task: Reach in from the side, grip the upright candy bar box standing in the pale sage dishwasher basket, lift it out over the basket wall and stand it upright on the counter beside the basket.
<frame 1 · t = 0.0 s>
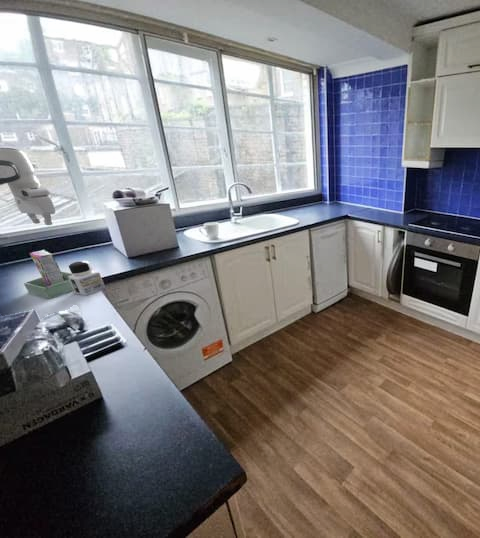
hand: (43, 224, 125), 28 cm above the table, tool pointing down, fingers open, 8 cm apart
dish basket: (58, 289, 129), on the table
candy bar box: (58, 288, 129), resting on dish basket
container: (90, 290, 127), on the table
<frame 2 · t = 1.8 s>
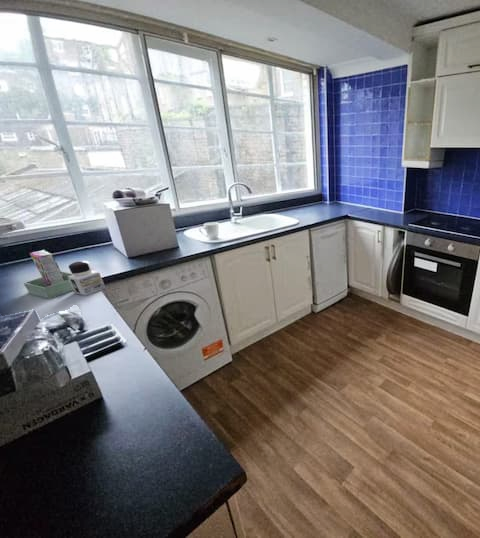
hand: (0, 231, 129), 24 cm above the table, tool horizontal, fingers open, 8 cm apart
nothing on the table moved.
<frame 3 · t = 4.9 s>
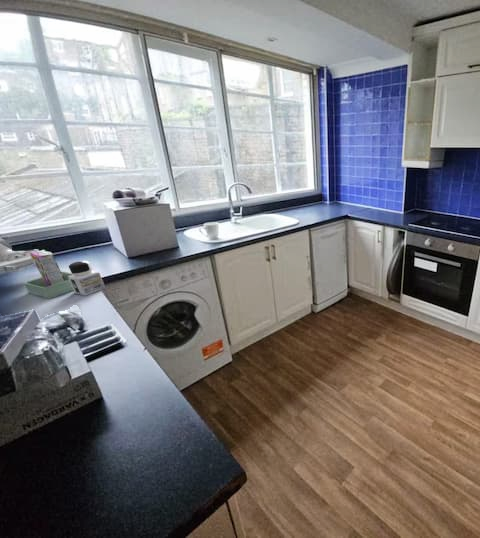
hand: (31, 264, 130), 10 cm above the table, tool horizontal, fingers open, 8 cm apart
nothing on the table moved.
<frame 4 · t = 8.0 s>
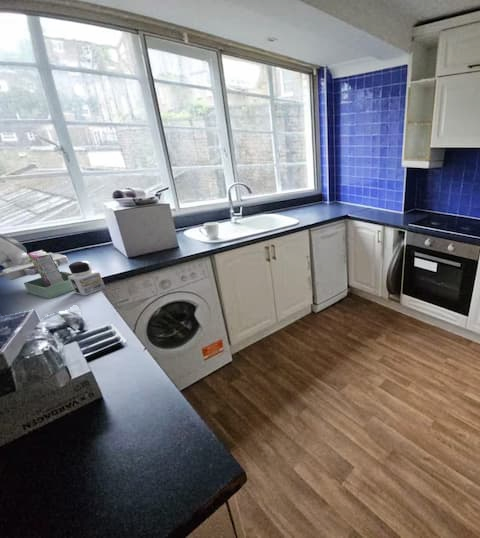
hand: (46, 268, 126), 9 cm above the table, tool horizontal, fingers closed on candy bar box, 5 cm apart
candy bar box: (58, 288, 129), resting on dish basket, touching gripper
everything else where it was.
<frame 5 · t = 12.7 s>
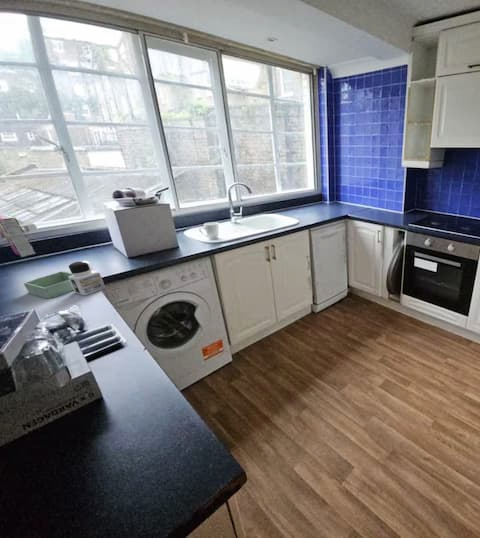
hand: (13, 233, 125), 24 cm above the table, tool horizontal, fingers closed on candy bar box, 5 cm apart
candy bar box: (25, 254, 128), point 15 cm above the table, touching gripper
everything else where it was.
when the fingers open (9 cm above the table, at t = 17.7 s): candy bar box stays where it is, on the table.
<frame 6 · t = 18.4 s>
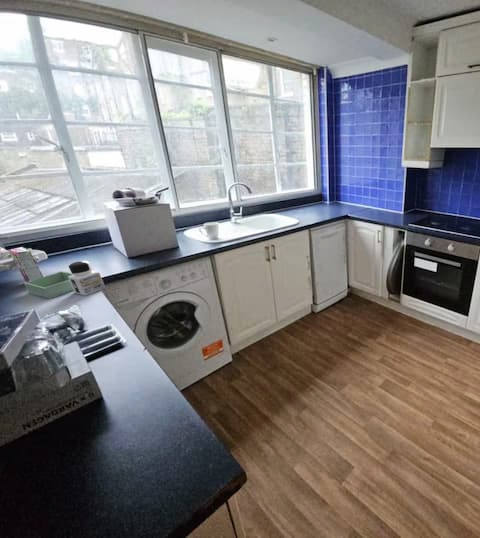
hand: (24, 263, 132), 10 cm above the table, tool horizontal, fingers open, 8 cm apart
candy bar box: (36, 283, 136), on the table
everything else where it was.
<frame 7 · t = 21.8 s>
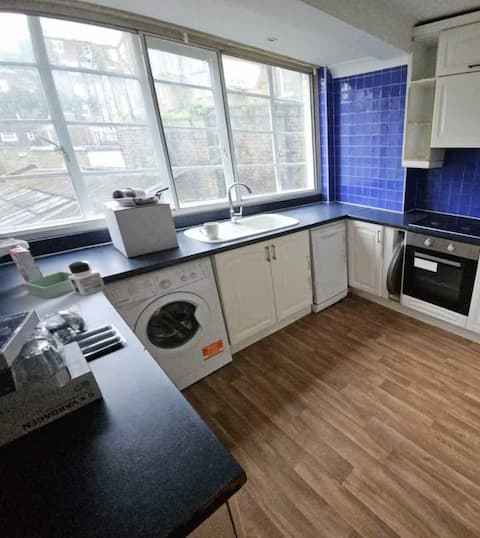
hand: (5, 252, 135), 14 cm above the table, tool horizontal, fingers open, 8 cm apart
nothing on the table moved.
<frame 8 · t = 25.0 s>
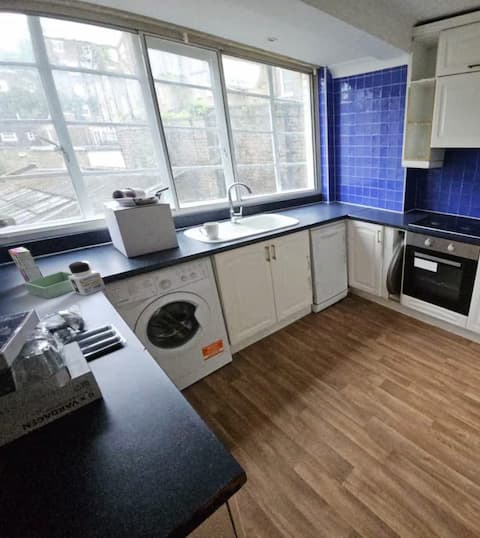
nothing on the table moved.
at the end: candy bar box inside the target area (0.4 cm from its centre), on the table; candy bar box tilted 0°; the gripper is holding nothing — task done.
